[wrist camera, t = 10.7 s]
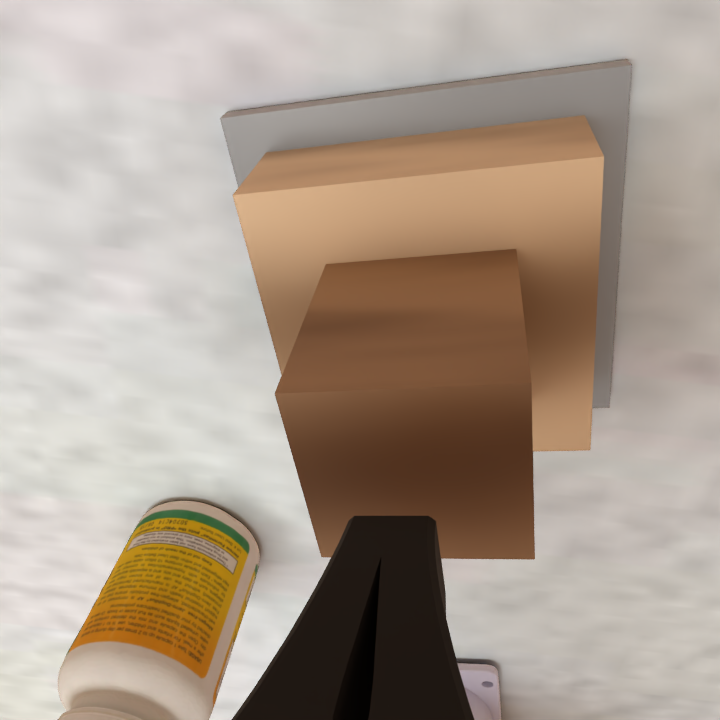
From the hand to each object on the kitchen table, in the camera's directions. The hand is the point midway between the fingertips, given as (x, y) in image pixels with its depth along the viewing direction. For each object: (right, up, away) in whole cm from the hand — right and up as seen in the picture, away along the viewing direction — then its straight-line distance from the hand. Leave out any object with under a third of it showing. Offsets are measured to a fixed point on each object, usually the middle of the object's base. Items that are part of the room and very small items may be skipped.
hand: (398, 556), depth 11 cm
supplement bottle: (-7, -4, +17) cm, 19 cm away
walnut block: (+1, +4, +6) cm, 7 cm away
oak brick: (+1, +6, +8) cm, 10 cm away
